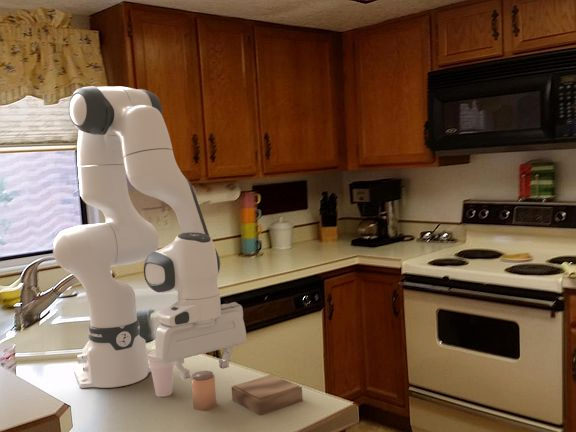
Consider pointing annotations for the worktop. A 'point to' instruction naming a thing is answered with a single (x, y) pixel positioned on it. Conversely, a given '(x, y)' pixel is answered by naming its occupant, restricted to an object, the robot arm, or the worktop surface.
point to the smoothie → (161, 374)
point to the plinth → (266, 394)
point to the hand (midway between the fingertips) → (205, 372)
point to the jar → (203, 390)
